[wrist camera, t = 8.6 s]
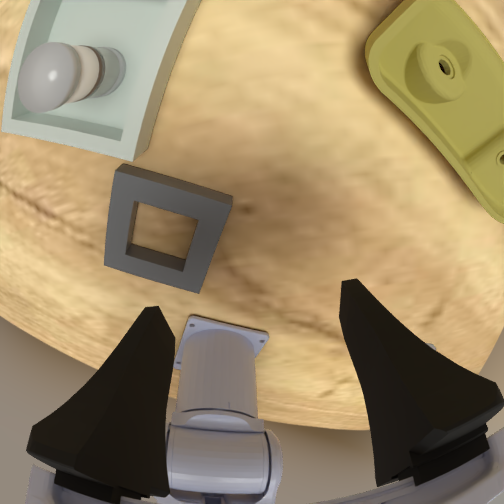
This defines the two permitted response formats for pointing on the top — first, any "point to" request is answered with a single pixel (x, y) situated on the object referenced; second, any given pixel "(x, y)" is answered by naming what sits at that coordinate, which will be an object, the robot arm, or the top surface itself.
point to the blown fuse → (68, 75)
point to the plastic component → (446, 89)
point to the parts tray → (132, 87)
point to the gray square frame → (171, 199)
